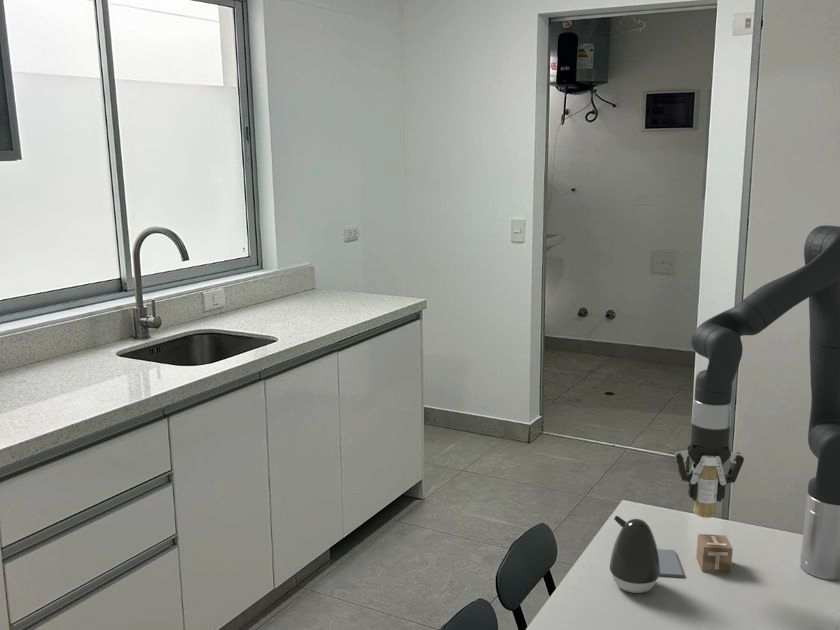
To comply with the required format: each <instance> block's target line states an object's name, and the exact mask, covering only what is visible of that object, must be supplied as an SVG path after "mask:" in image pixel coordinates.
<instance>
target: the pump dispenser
mask: <svg viewBox="0 0 840 630" xmlns="http://www.w3.org/2000/svg"><path fill="white" fill-rule="evenodd" d="M613 520H614V521H615V522H616V523H617V524H618V525H619V526H621V529H620V530H619V532H618V534H617V537H616V539H615V541H614V544H613V547H612V552H611V556H610V561H609V571H610V573H611V577H612V578H613V581H614V583H615V584H616V585H617V586H618V587H619V588H621V589H622V590H624V591H626V592H629V593H634V594H642V593H646V592H648V591H650V590H651V589H652V588H653V587H654V586H655V584H656V582H657V581H658V579H659V577H660V576H659V575H660V563H659V554H658V549H659V548H658V546H657V545H658V544H657V542H656V538H655V536H654V534H653V531H652V528H651V527H650V525H649V524H648V523H647V522H646V521H644V520H643V519H640V518H632V519H631V518H630V519H629V520H628V521H626V520H624V518H623V519H622V517H620V516H619V515H615V516H614V519H613Z"/></svg>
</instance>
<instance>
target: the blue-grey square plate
mask: <svg viewBox="0 0 840 630" xmlns="http://www.w3.org/2000/svg"><path fill="white" fill-rule="evenodd" d="M657 549H658V554H659V563H660V575H659V577H667V578H668V577H671V578H684V572H683V569H682V567H681V564H680V561H679V559H678V556H677V553H676V551H675V550H676V549H665V548H664V549H661V548H657Z"/></svg>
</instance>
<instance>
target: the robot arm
mask: <svg viewBox="0 0 840 630" xmlns="http://www.w3.org/2000/svg"><path fill="white" fill-rule="evenodd" d="M803 258H804V265H803V266H802V267H800V268H798V269H796V270H794V271H791V272H790V273H787V274H785V275H783V276H781V277H778V278H776V279H773V280H772V281H770V282H767V283H765V284H764V285H761V286H760V287H759V288H757V289H755V290H754V291H752V292H751V293H750V294H749V295H748V296H746V297H744V299H742V300H741V301H740V302H739V303H738V304H736V305H734V306H733V307H731V308H729V309H727V310H724V311H722V312H720V313H718V314H716V315H714V316H712V317H710V318H709V319H706V320H705V321H703V322H702V323H701V324H700V325H698V327H696V329H695V330H694V332H693V334H692V336H691V347H692V349H693V351H694V352H695V353H696V354H698V355H699V356H702V357H704V358H706V359H707V360H708V364H707V367H706V369H704V370H703V369H702V370H700V371H699V372H698V373H697V375H696V377H695V383H694V385H695V386H694V399H693V405H692V411H691V425H690V426H691V427H690V438H689V439H690V440H689V441H690V442H689V446H688V447H687V449H685V450H681V451H680V450H674V452H673V455H674V458H675V462H676V465H677V469H678V473H679V476H680V478H681V481H683V482H685V481H686V482H688V486H687V493H688V494H687V495H688V496H689V498H691V501H694V502H695V501H696V496H697V483H696V482H697V479H698V477H699V475H700V474H701V472H702V470H703V467H704V465H702V464H703V463H704V462H705V458H707V456H714V457H715V458H716V459H717V464H718V465H717V473H718V492H717V501H716V503H717V502H719V503H722V500H724V498H725V496H726V493H725V492H726V485H728V484H730V483H731V484H734V483H736V480H737V478H738V476H739V473H740V472H741V468H742V466H743V463H744V461H745V458H744V457H743V455H742V453H741V452H733V451H731V449H730V440H731V439H730V437H731V425H732V396H733V395H732V393H733V392H732V391H733V382H734V380H735V377H736V375H737V372H738V368H739V366H740V363H741V359H742V356H743V349H744V348H743V342H742V339H741V337H742V336H743V337H744V336H756V335H758V334H759V333H761V332H762V331H764V330H765V329H767V328H768V327H769V326H771V324H773V323H774V322H776V320H778V319H780V318H781V317H782V316H784V315H785V314H786V313H788V311H790V310H791V309H793V308H794V307H795V306H797V305H799V304H800V303H802V302H804V301H805V300H806V299H808V309H809V310H808V314H809V315H808V316H809V340H808V341H809V343H808V344H809V345H808V346H809V366H810V367H809V368H810V369H809V371H810V372H809V373H810V392H811V404H810V405H811V406H810V415H809V423H808V433H807V443H808V446H809V447H808V448H809V450H810V451H811V453H812V454H813V455H814V456H815V457H816V458H817V468H816V474H815V476H813V478H811V479H810V480H809V481H808V485H807V486H808V487H807V494H806V495H807V496H806V503H805V504H806V505H805V512H804V513H805V514H804V523H803V524H804V525H803V533H802V534H803V535H802V541H801V543H802V544H801V550H800V551H801V552H800V565H799V566H800V568H801V569H802V570H803V571H804V572H805V573H807V574H808V575H811V576H813V577H815V578H818V579H822V580H823V579H824V580H830V581H831V580H832V581H835V580H837V581H838V580H840V226H838V225H837V226H836V225H827V224H825V225H819V226H817V227H815V228H813V229H812V230H811V231H810V232H809V234H808V235H807V237H806V239H805V242H804V248H803ZM687 457H689V458H690V460H692V463H691V467H690V471H689V472H687V470H686V467H685V462H687ZM729 459H730V462H731V463H730V466H729V469H728V470H727V473H726V474H725V472H724V468H723V465H724V464H725V463H726V462H727V461H728V460H729Z"/></svg>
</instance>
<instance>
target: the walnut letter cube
mask: <svg viewBox="0 0 840 630" xmlns="http://www.w3.org/2000/svg"><path fill="white" fill-rule="evenodd" d="M695 558H696V561H697V563H698V565H699V568H700V570H701V572H702V573H715V574H716V573H717V574H731V572H732V571H731V570H732V563H733V562H732V561H733V560H732V559H733V547H732V544H731V543H730V541H729V539H728V536H727V535H726V534H725V535H724V534H705V533H704V534H703V533H698V534H697V546H696V557H695Z"/></svg>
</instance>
